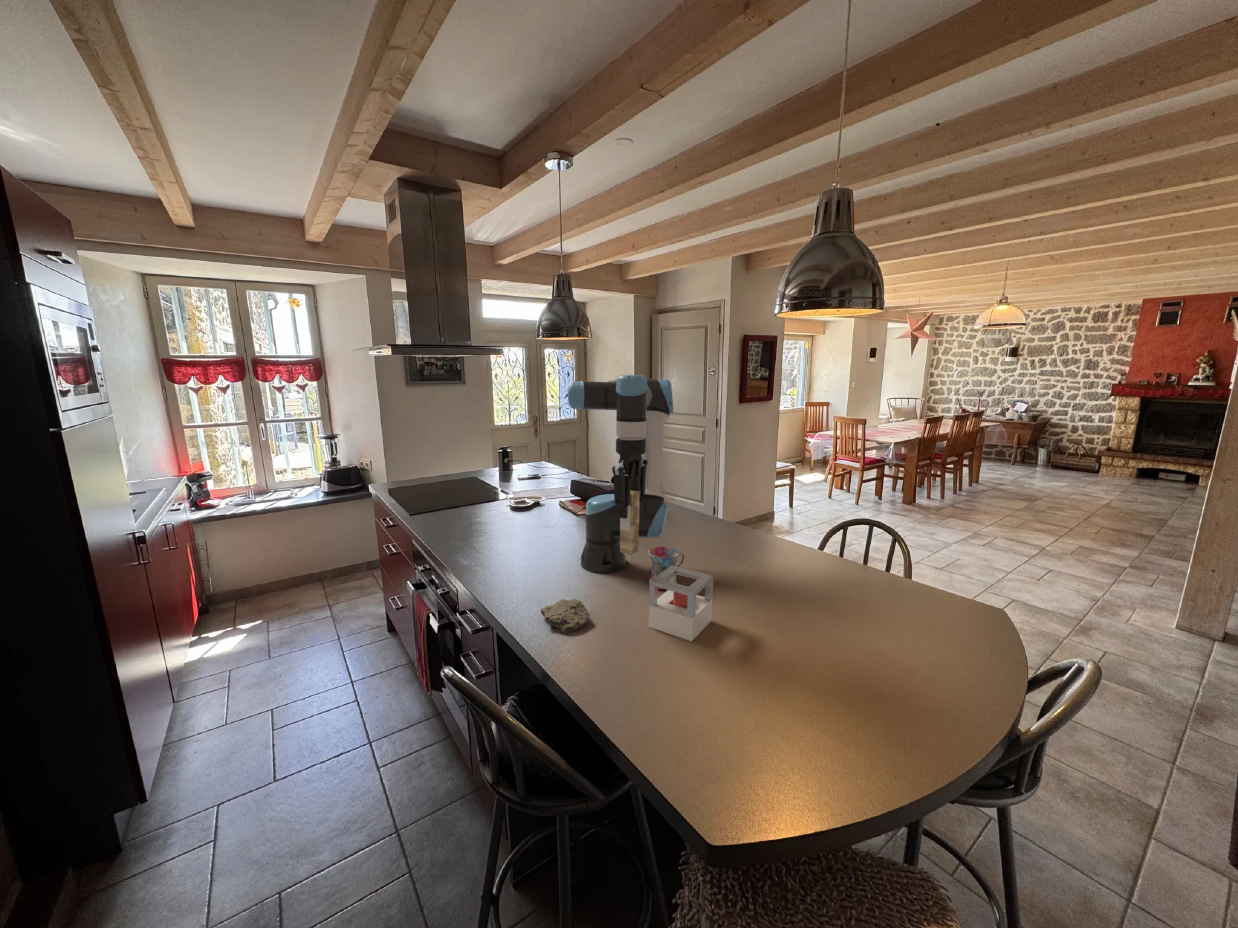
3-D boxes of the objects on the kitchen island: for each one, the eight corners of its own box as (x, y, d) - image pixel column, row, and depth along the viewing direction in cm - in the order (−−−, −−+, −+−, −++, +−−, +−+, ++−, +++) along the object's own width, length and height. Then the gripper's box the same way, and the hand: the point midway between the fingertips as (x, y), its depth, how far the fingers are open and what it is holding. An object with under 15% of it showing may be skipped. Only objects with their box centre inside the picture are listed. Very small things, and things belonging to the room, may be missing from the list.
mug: (657, 594, 143) (658, 559, 141) (642, 582, 151) (642, 549, 149) (691, 586, 148) (693, 553, 146) (674, 575, 157) (675, 543, 154)
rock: (552, 638, 120) (551, 622, 119) (538, 616, 130) (538, 601, 129) (594, 628, 124) (594, 612, 123) (578, 608, 135) (577, 593, 134)
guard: (671, 587, 134) (671, 565, 132) (712, 599, 127) (713, 575, 126) (649, 604, 124) (649, 580, 123) (692, 618, 117) (693, 593, 116)
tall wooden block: (627, 547, 131) (627, 489, 128) (638, 550, 129) (639, 491, 126) (619, 551, 128) (620, 492, 125) (631, 554, 126) (632, 494, 123)
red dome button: (677, 612, 129) (678, 586, 128) (691, 617, 127) (692, 590, 126) (670, 619, 126) (670, 591, 124) (684, 623, 124) (685, 596, 122)
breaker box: (670, 608, 135) (671, 587, 134) (711, 620, 128) (712, 599, 127) (648, 626, 125) (649, 604, 124) (691, 641, 119) (692, 618, 117)
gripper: (635, 433, 131) (633, 517, 136) (599, 440, 118) (599, 533, 122) (660, 435, 127) (657, 522, 132) (625, 443, 114) (624, 539, 118)
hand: (629, 527), depth 127 cm, fingers closed on tall wooden block, 3 cm apart
